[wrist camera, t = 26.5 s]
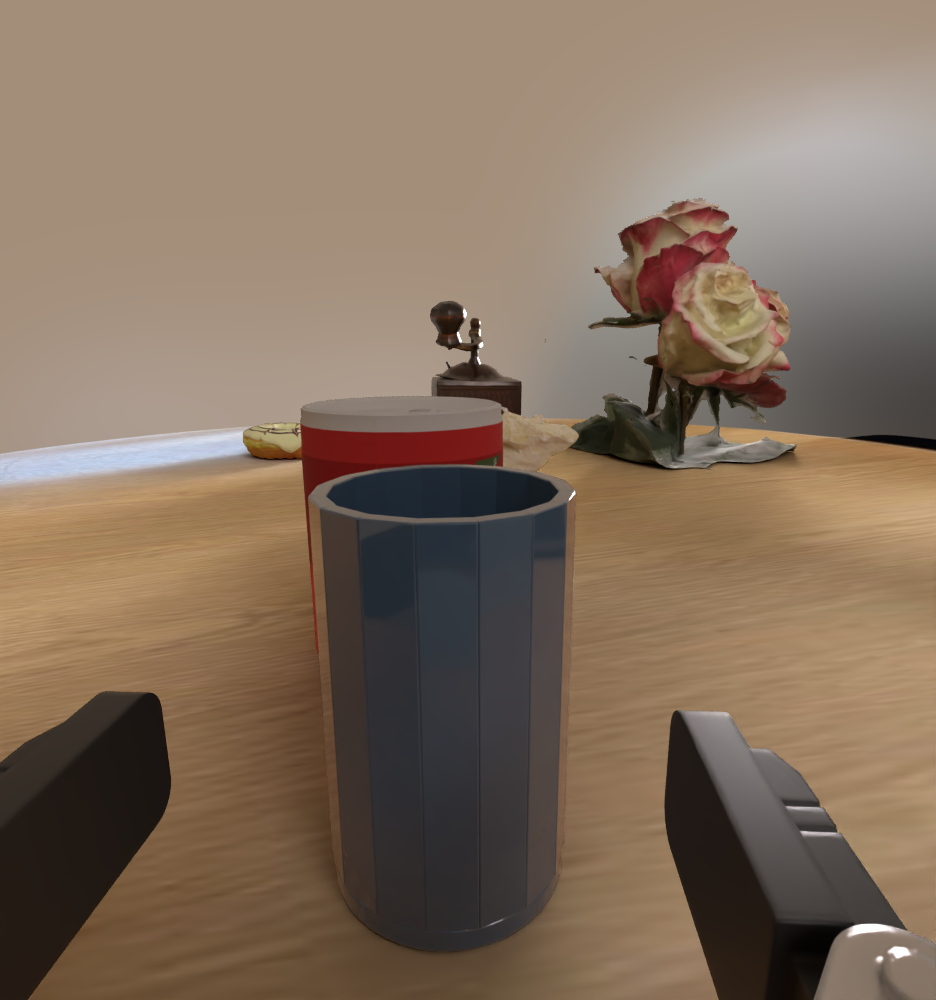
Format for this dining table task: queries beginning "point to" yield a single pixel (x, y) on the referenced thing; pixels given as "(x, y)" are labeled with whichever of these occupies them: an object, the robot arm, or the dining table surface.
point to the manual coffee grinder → (470, 363)
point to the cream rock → (533, 440)
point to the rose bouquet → (691, 341)
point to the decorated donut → (274, 440)
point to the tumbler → (445, 694)
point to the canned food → (395, 438)
